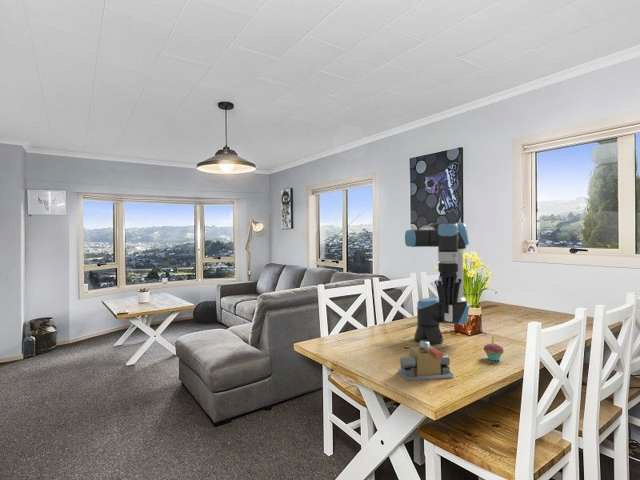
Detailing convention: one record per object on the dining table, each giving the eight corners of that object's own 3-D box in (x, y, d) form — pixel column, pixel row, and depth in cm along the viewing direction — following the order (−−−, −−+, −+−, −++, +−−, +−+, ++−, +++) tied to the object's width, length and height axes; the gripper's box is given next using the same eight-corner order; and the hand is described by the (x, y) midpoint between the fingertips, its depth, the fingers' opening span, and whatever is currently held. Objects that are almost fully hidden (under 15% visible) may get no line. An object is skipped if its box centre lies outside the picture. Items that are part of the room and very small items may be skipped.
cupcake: (502, 363, 163) (502, 337, 163) (482, 360, 168) (482, 334, 167) (504, 358, 170) (504, 332, 170) (484, 355, 175) (484, 330, 175)
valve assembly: (441, 368, 158) (441, 344, 158) (453, 377, 148) (453, 351, 148) (397, 371, 155) (397, 346, 155) (406, 381, 145) (406, 354, 145)
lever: (418, 347, 153) (418, 340, 153) (427, 347, 154) (427, 340, 154) (434, 360, 138) (434, 352, 138) (444, 359, 138) (444, 352, 138)
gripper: (443, 263, 139) (443, 325, 139) (467, 262, 145) (467, 320, 145) (429, 262, 145) (429, 321, 145) (452, 261, 151) (452, 317, 152)
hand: (448, 320), depth 145 cm, fingers closed
